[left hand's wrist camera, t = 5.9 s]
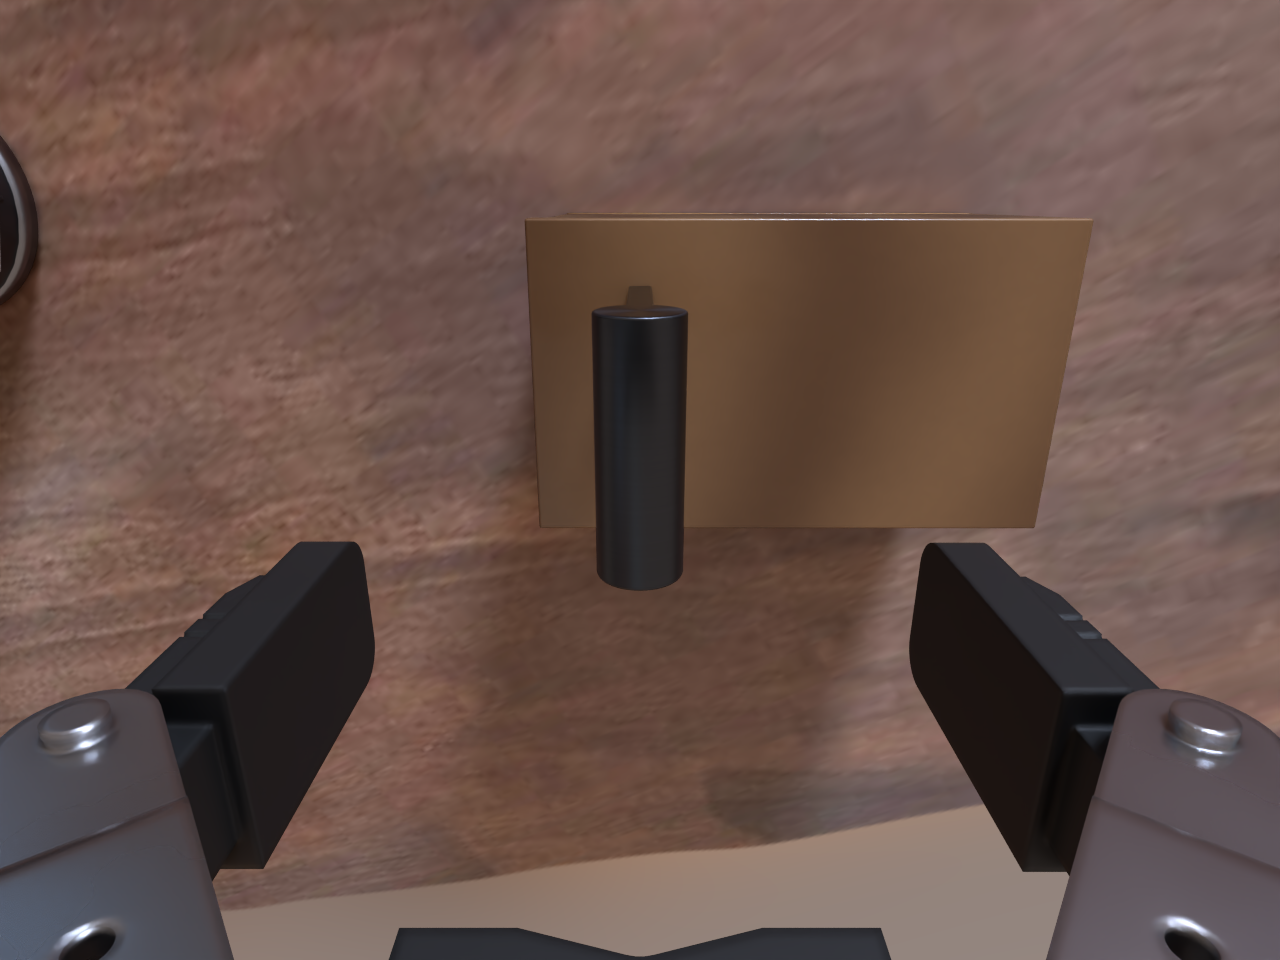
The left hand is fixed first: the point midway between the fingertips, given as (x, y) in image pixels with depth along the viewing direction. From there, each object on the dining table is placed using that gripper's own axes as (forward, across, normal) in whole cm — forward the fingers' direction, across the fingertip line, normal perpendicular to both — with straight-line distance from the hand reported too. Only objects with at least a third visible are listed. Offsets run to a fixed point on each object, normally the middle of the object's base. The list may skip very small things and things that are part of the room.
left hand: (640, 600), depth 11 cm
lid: (+15, -5, 0) cm, 16 cm away
